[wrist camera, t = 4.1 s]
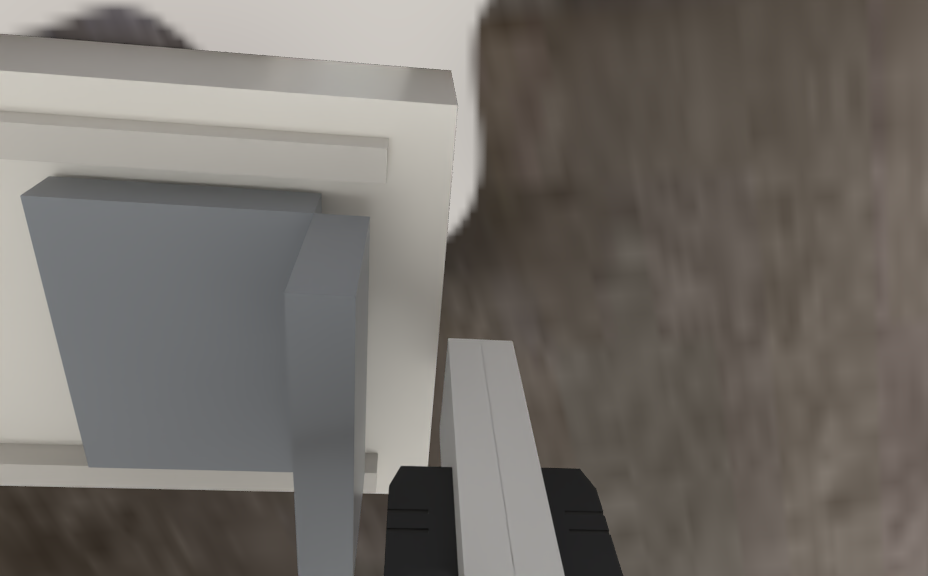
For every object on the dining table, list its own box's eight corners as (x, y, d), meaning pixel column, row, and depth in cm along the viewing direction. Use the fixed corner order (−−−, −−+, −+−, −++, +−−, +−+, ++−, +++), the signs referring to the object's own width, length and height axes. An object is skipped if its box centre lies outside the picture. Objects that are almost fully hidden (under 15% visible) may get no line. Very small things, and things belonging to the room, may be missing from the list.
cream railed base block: (-139, 392, 22) (-270, 501, 18) (-309, 8, 16) (-563, 37, 12) (424, 411, 24) (425, 515, 20) (450, 70, 18) (459, 114, 14)
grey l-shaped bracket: (107, 436, 18) (16, 584, 14) (48, 176, 15) (-98, 274, 10) (367, 443, 19) (352, 587, 15) (373, 196, 15) (356, 296, 11)
